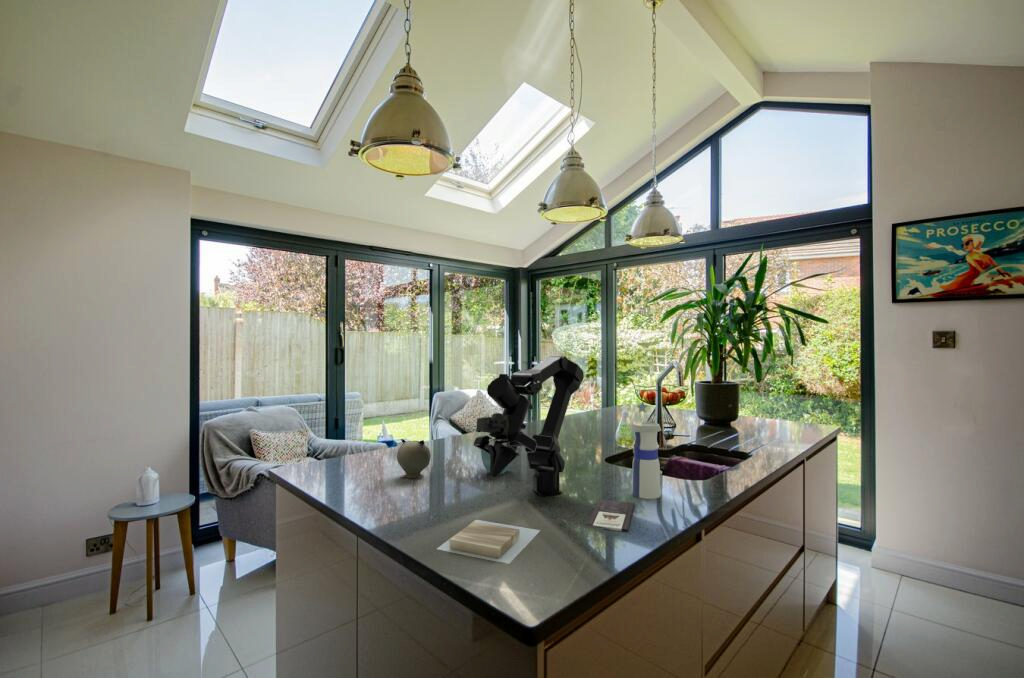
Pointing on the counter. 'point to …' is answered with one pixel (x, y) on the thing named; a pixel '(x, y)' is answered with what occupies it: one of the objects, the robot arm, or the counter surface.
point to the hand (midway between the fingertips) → (492, 477)
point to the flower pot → (487, 462)
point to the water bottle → (646, 459)
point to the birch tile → (484, 539)
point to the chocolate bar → (612, 515)
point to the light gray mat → (510, 554)
